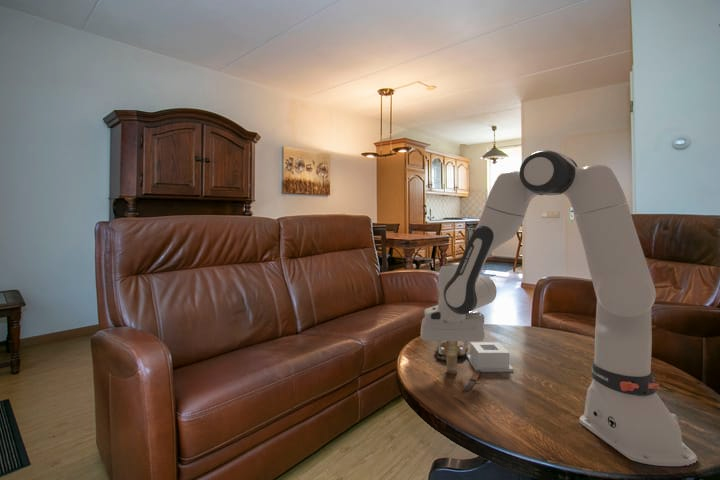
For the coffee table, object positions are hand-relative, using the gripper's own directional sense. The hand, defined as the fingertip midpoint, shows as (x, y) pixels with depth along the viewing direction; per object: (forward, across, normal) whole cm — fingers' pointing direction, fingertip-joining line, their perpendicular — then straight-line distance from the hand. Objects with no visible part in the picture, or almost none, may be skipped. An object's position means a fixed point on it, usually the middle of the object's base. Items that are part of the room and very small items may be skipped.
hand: (451, 353), depth 119 cm
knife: (+7, -5, +8) cm, 11 cm away
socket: (+6, -14, -6) cm, 16 cm away
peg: (+6, 0, 0) cm, 6 cm away
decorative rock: (+7, -3, -14) cm, 16 cm away
